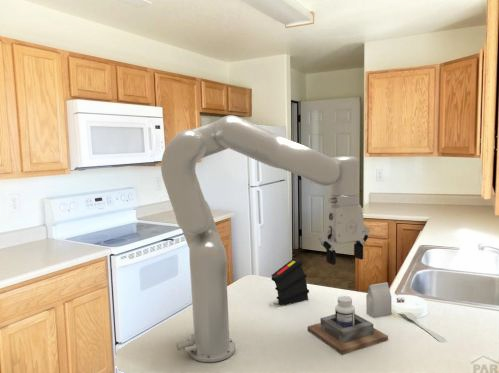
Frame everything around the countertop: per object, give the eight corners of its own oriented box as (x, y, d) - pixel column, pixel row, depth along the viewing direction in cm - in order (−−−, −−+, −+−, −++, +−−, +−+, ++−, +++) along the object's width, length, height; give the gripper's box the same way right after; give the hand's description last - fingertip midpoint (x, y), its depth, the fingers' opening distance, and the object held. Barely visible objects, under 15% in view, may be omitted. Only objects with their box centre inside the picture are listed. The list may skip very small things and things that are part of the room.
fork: (440, 352, 108) (441, 343, 108) (394, 314, 128) (395, 306, 127) (449, 350, 109) (450, 341, 109) (402, 313, 129) (402, 305, 128)
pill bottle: (341, 325, 118) (340, 293, 117) (358, 330, 115) (357, 297, 114) (332, 332, 114) (331, 299, 113) (349, 337, 111) (349, 303, 110)
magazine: (316, 293, 143) (300, 259, 138) (288, 316, 138) (271, 281, 134) (310, 290, 146) (294, 257, 142) (282, 312, 141) (265, 278, 137)
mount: (342, 354, 104) (341, 339, 104) (307, 330, 118) (307, 316, 118) (388, 339, 111) (388, 325, 110) (350, 318, 125) (350, 305, 125)
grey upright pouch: (391, 314, 127) (391, 284, 126) (373, 318, 125) (373, 287, 124) (383, 310, 131) (383, 280, 130) (366, 313, 128) (366, 283, 127)
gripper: (327, 205, 104) (328, 269, 105) (378, 199, 111) (378, 259, 113) (311, 202, 110) (312, 262, 112) (359, 197, 118) (359, 253, 119)
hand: (345, 260), depth 112 cm, fingers open, 9 cm apart
